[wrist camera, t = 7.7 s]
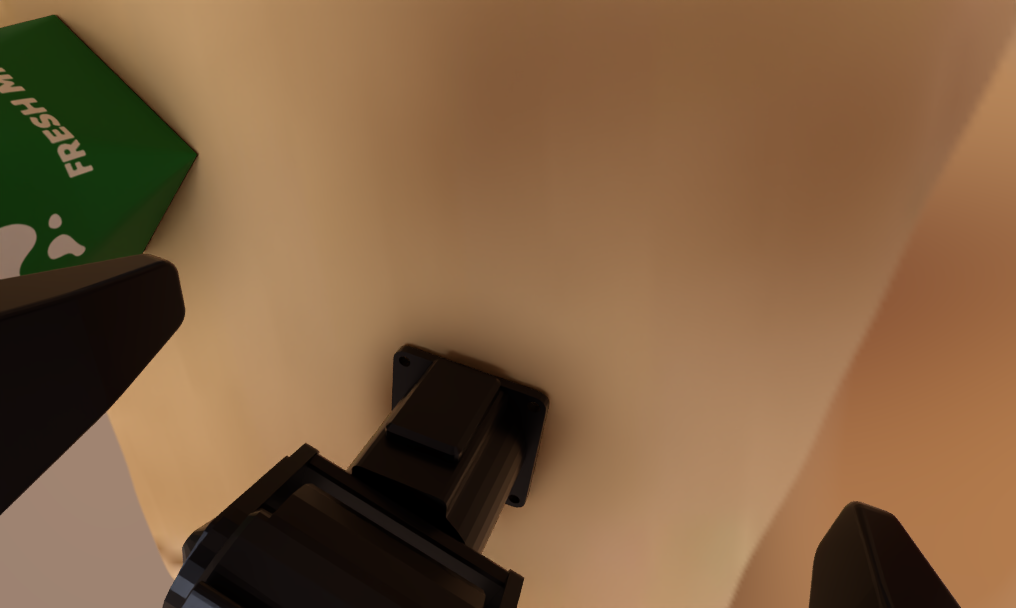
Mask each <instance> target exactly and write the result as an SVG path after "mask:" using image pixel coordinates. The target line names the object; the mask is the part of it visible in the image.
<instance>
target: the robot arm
mask: <svg viewBox="0 0 1016 608" xmlns="http://www.w3.org/2000/svg"><path fill="white" fill-rule="evenodd" d="M184 317H185V305H184V300H183V295H182V290H181V285H180V280H179V275H178V271H177V268H176V267H175V265H174V264H173V263H171V262H170V261H168V260H165V259H162V258H159V257H156V256H153V255H149V254H138V255H132V256H127V257H121V258H116V259H110V260H105V261H99V262H94V263H88V264H83V265H77V266H72V267H66V268H61V269H55V270H50V271H44V272H39V273H33V274H28V275H22V276H17V277H11V278H5V279H0V515H1V514H2V513H3V512H4V511H5V510H6V509H7V508H8V507H9V506H10V505H11V504H12V503H13V502H14V501H15V500H16V499H18V498H19V497H20V496H21V495H22V494H23V493H24V492H25V491H26V490H27V489H28V488H29V487H30V486H31V485H32V484H33V483H34V482H35V481H36V480H37V479H38V478H39V477H40V476H41V475H42V474H43V473H44V472H45V471H46V470H47V469H48V468H49V467H50V466H51V465H52V464H53V463H54V462H56V460H58V459H59V458H60V457H61V456H62V455H63V454H64V453H65V452H66V451H67V450H68V449H69V448H70V447H71V446H72V445H73V444H74V443H75V442H76V441H77V440H78V439H79V438H80V437H81V436H82V435H83V434H84V433H85V432H86V431H87V430H88V429H89V428H90V427H91V426H93V425H94V424H95V423H96V422H97V421H98V420H99V419H100V418H101V416H102V415H104V414H105V413H106V411H107V410H108V409H109V408H110V407H111V406H112V405H113V404H114V403H115V402H116V401H117V400H118V398H119V397H120V396H121V395H122V394H123V393H124V392H125V390H126V389H127V388H128V387H129V386H130V385H131V383H132V382H133V381H134V380H135V379H136V378H137V376H138V375H139V374H140V373H141V372H142V371H143V369H144V368H145V367H146V366H147V365H148V364H149V362H150V361H151V360H152V359H153V358H154V356H155V355H156V354H157V353H158V352H159V351H160V349H161V348H162V347H163V346H164V345H165V344H166V342H167V341H168V340H169V339H170V338H171V337H172V335H173V334H174V333H175V332H176V331H177V330H178V328H179V327H180V326H181V324H182V322H183V320H184ZM405 357H406V358H408V359H409V360H410V361H409V360H407V359H406V358H405ZM532 402H535V403H537V404H538V405H539V406H535V405H534V404H532ZM548 407H549V400H548V398H547V397H546V396H545V395H544V394H543V393H541V392H539V391H536V390H534V389H531V388H528V387H525V386H522V385H519V384H516V383H514V382H511V381H508V380H505V379H502V378H499V377H496V376H493V375H491V374H488V373H485V372H482V371H479V370H476V369H473V368H470V367H468V366H465V365H462V364H459V363H456V362H453V361H450V360H447V359H445V358H442V357H439V356H436V355H433V354H430V353H427V352H424V351H422V350H419V349H416V348H413V347H410V346H402V347H401V348H400V349H399V350H398V351H397V352H396V353H395V354H394V359H393V388H392V412H391V413H390V414H389V416H388V417H387V418H386V419H385V421H384V422H383V423H382V425H381V426H380V427H379V429H378V430H377V431H376V432H375V434H374V435H373V436H372V438H371V439H370V440H369V441H368V443H367V444H366V445H365V447H364V448H363V449H362V451H361V452H360V453H359V454H358V456H357V457H356V458H355V460H354V461H353V462H352V464H351V465H350V466H349V467H348V469H347V470H346V471H345V470H344V469H342V468H341V467H339V466H337V465H336V464H334V463H332V462H331V461H329V460H328V459H326V458H324V457H323V456H321V455H320V454H319V451H318V450H317V449H315V448H313V447H312V446H310V445H308V444H307V443H305V444H304V445H303V446H301V447H300V448H299V449H298V450H297V451H296V452H295V453H293V454H292V455H291V456H290V457H288V456H286V457H284V458H283V459H282V460H281V461H280V462H279V463H278V464H276V465H275V466H274V467H273V468H272V469H271V470H269V471H268V472H267V473H266V474H265V475H264V476H263V477H261V478H260V479H259V480H258V481H257V482H256V483H255V484H253V485H252V486H251V487H250V488H249V489H248V490H247V491H245V492H244V493H243V494H242V495H241V496H240V497H239V498H237V499H236V500H235V501H234V502H233V503H232V504H231V505H229V506H228V507H227V508H226V509H225V510H224V511H223V512H221V513H220V514H219V515H218V516H217V517H216V518H214V519H213V520H211V521H210V522H208V523H206V524H205V525H203V526H202V527H200V528H198V529H197V530H195V531H194V532H193V533H192V534H191V535H190V536H189V537H188V539H187V540H186V541H185V543H184V545H183V547H182V553H183V566H182V568H181V570H180V571H179V574H178V575H177V577H176V579H175V581H174V582H173V584H172V586H171V588H170V590H169V592H168V594H167V596H166V598H165V600H164V604H163V608H517V604H518V600H519V597H520V593H521V589H522V585H523V581H524V577H522V576H521V575H519V574H517V573H516V572H514V571H513V570H511V569H510V570H509V571H507V570H506V569H504V568H502V567H501V566H499V565H498V564H496V563H494V562H493V561H491V560H490V559H488V558H486V557H485V556H483V555H481V554H482V552H483V550H484V548H485V545H486V543H487V541H488V539H489V537H490V535H491V532H492V530H493V528H494V526H495V524H496V522H497V519H498V517H499V515H500V513H501V511H502V509H503V506H504V504H508V505H510V506H513V507H522V506H524V504H525V502H526V500H527V497H528V494H529V490H530V485H531V481H532V477H533V472H534V468H535V464H536V459H537V455H538V451H539V446H540V442H541V438H542V433H543V429H544V425H545V420H546V416H547V412H548ZM809 608H961V607H960V606H959V604H958V603H957V601H956V600H955V599H954V597H953V596H952V595H951V593H950V592H949V590H948V589H947V587H946V586H945V585H944V583H943V582H942V581H941V579H940V578H939V576H938V575H937V574H936V572H935V571H934V569H933V568H932V567H931V565H930V564H929V562H928V561H927V560H926V558H925V557H924V555H923V554H922V553H921V551H920V550H919V548H918V547H917V546H916V544H915V543H914V541H913V540H912V539H911V537H910V536H909V534H908V533H907V532H906V530H905V529H904V527H903V526H902V525H901V523H900V522H899V521H898V519H897V518H896V517H895V516H894V515H893V514H891V513H889V512H887V511H884V510H882V509H879V508H876V507H873V506H870V505H868V504H865V503H862V502H858V501H853V502H850V503H849V504H847V505H846V506H845V507H844V509H843V510H842V511H841V513H840V515H839V516H838V518H837V519H836V520H835V522H834V523H833V525H832V526H831V528H830V529H829V530H828V532H827V533H826V535H825V536H824V538H823V539H822V541H821V542H820V544H819V546H818V548H817V550H816V553H815V557H814V562H813V570H812V581H811V591H810V600H809Z"/></svg>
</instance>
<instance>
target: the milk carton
mask: <svg viewBox="0 0 1016 608" xmlns="http://www.w3.org/2000/svg"><path fill="white" fill-rule="evenodd" d="M196 156H197V154H196V153H195V152H194V151H193V150H192V149H191V148H190V147H189V146H188V145H187V144H186V143H185V142H184V141H183V140H182V139H181V138H180V137H179V136H178V135H177V134H176V133H175V132H174V131H173V130H172V129H171V128H170V127H169V126H168V125H167V124H166V123H164V122H163V121H162V120H161V119H160V118H159V117H158V116H157V115H156V114H155V113H154V112H153V111H152V110H151V109H150V108H149V107H148V106H147V105H146V104H145V103H144V102H143V101H142V100H141V99H140V98H139V97H138V96H137V95H136V94H135V93H134V92H133V91H132V90H131V89H130V88H129V87H128V86H127V85H126V84H125V83H124V82H123V81H122V80H121V79H120V78H119V77H118V76H117V75H116V74H115V73H114V72H113V71H112V70H111V69H109V68H108V67H107V66H106V65H105V64H104V63H103V62H102V61H101V60H100V59H99V58H98V57H97V56H96V55H95V54H94V53H93V52H92V51H91V50H90V49H89V48H88V47H87V46H86V45H85V44H84V43H83V42H82V41H81V40H80V39H79V38H78V37H77V36H76V35H75V34H74V33H73V32H72V31H71V30H70V29H69V28H68V27H67V26H66V25H65V24H64V23H63V22H62V21H61V20H60V19H59V18H58V17H57V16H56V15H51V16H47V17H43V18H39V19H35V20H31V21H27V22H23V23H19V24H15V25H11V26H7V27H3V28H0V279H5V278H11V277H17V276H22V275H28V274H33V273H39V272H44V271H50V270H55V269H61V268H66V267H72V266H77V265H83V264H88V263H94V262H99V261H105V260H110V259H116V258H121V257H127V256H132V255H138V254H142V253H143V251H144V249H145V248H146V246H147V244H148V242H149V240H150V239H151V237H152V235H153V233H154V231H155V230H156V228H157V226H158V224H159V222H160V221H161V219H162V217H163V215H164V213H165V212H166V210H167V208H168V206H169V204H170V203H171V201H172V199H173V197H174V195H175V194H176V192H177V190H178V188H179V186H180V185H181V183H182V181H183V179H184V178H185V176H186V174H187V172H188V170H189V169H190V167H191V165H192V163H193V161H194V160H195V158H196Z"/></svg>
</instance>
